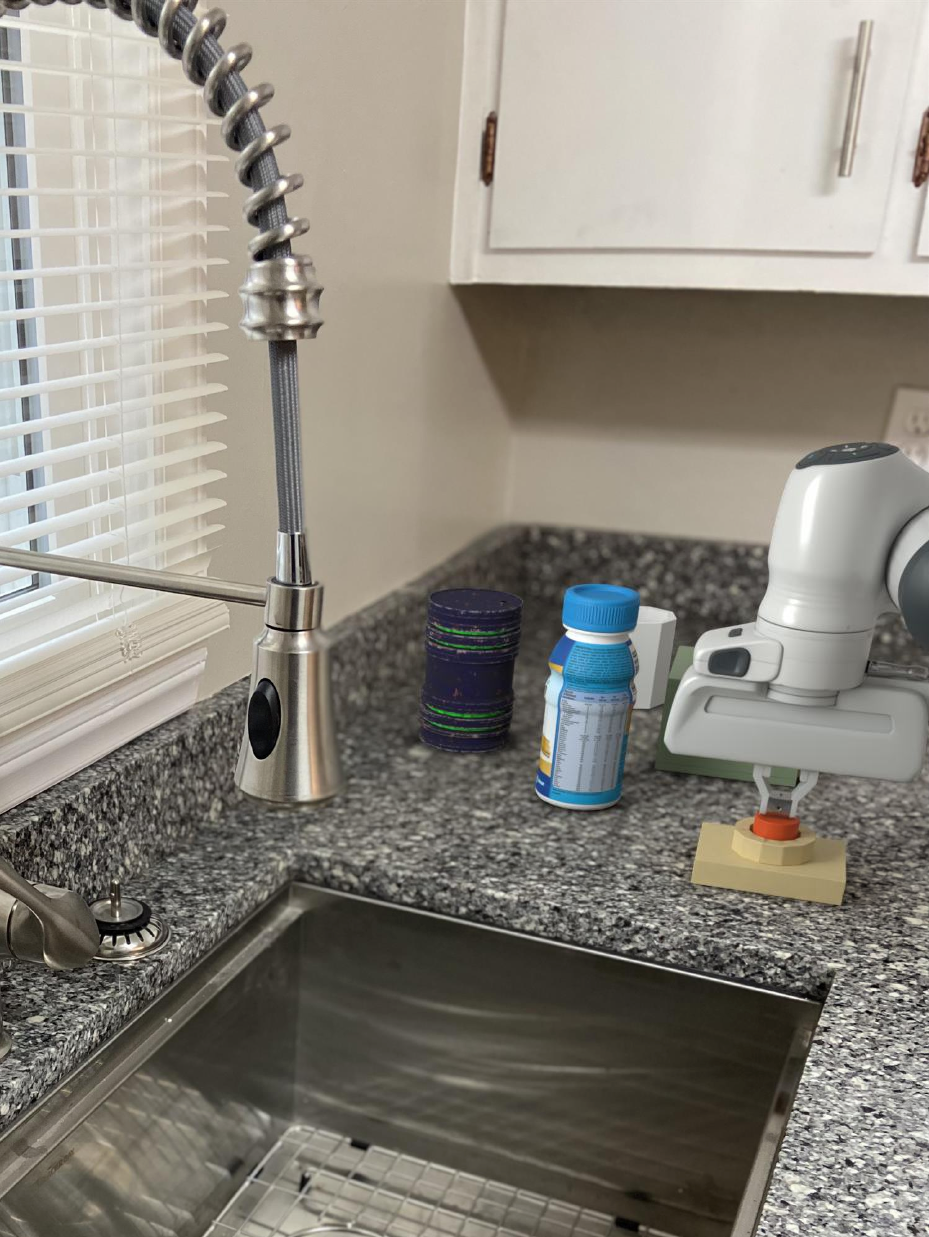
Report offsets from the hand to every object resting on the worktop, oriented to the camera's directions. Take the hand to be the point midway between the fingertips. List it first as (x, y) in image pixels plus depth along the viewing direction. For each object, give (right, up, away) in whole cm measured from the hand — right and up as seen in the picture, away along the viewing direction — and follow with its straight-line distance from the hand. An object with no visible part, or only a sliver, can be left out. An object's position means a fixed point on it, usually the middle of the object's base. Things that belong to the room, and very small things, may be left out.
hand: (777, 814), depth 123 cm
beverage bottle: (-13, +3, +18) cm, 22 cm away
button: (0, -2, +1) cm, 2 cm away
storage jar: (-21, +11, +33) cm, 41 cm away
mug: (-2, +17, +47) cm, 50 cm away
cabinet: (+6, +8, +28) cm, 30 cm away
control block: (0, -5, +2) cm, 6 cm away
